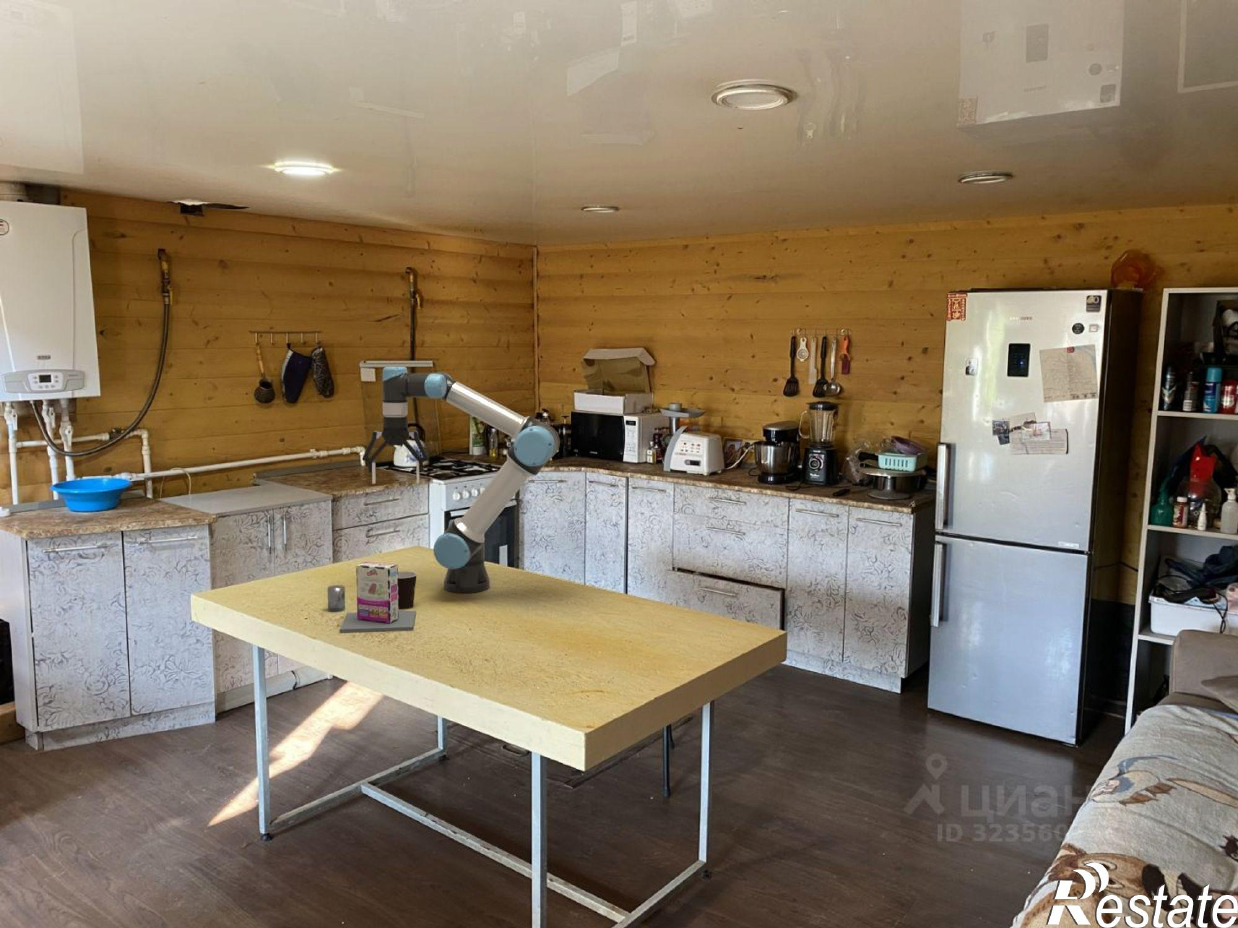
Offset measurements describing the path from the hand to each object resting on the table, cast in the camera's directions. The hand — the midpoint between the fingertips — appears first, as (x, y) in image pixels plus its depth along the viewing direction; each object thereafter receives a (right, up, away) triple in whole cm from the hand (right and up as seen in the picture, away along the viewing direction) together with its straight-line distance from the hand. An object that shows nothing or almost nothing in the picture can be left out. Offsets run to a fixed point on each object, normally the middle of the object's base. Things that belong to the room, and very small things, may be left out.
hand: (396, 482), depth 284 cm
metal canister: (-15, -38, -12) cm, 43 cm away
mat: (+1, -40, -24) cm, 47 cm away
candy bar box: (+1, -39, -24) cm, 46 cm away
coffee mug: (+4, -38, -6) cm, 39 cm away
